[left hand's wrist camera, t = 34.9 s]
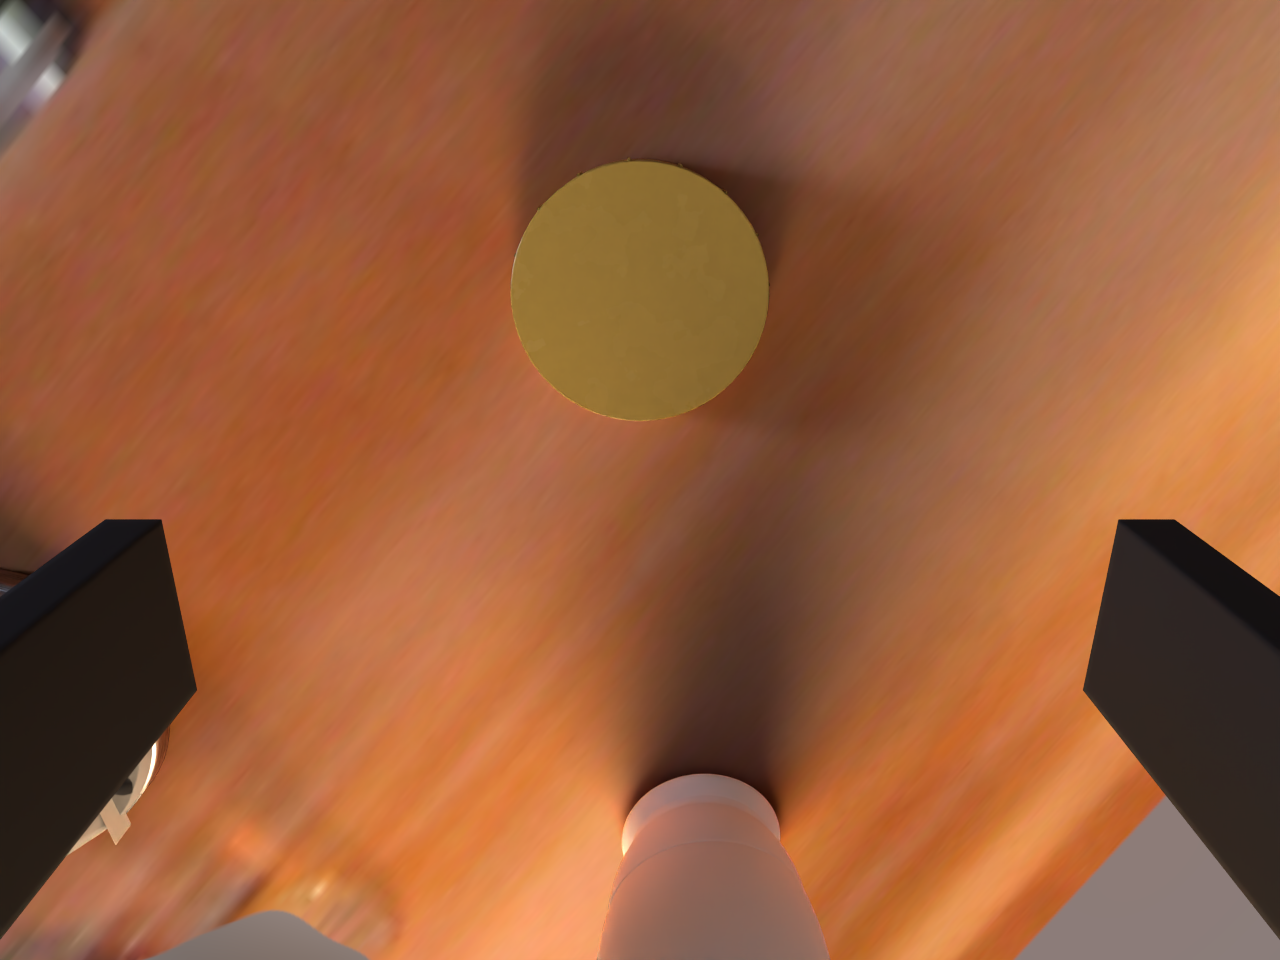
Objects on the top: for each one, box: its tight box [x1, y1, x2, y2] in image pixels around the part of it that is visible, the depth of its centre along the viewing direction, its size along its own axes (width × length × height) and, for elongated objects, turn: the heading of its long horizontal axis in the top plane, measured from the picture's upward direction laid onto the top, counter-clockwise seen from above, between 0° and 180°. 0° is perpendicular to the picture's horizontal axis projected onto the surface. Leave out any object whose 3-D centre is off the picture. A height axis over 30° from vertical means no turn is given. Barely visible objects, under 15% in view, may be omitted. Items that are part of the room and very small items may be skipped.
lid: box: [511, 157, 770, 421], centre depth 37 cm, size 10×10×2 cm
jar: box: [597, 774, 830, 960], centre depth 41 cm, size 11×10×15 cm
